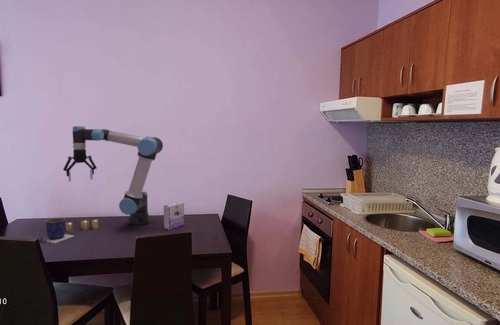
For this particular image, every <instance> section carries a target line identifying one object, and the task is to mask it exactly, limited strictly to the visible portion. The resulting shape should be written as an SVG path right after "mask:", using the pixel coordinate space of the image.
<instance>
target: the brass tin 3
mask: <svg viewBox="0 0 500 325" xmlns="http://www.w3.org/2000/svg"><path fill="white" fill-rule="evenodd" d="M98 228H99V219H98V218H95V219H94V218H93V219H92V220H91V229H92V230H93V229H95V230H99V229H98Z"/></svg>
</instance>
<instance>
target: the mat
mask: <svg viewBox="0 0 500 325" xmlns="http://www.w3.org/2000/svg"><path fill="white" fill-rule="evenodd" d="M74 237H75V235H73V234H68V233H65V235H64V236H63V237H62V238H59V239H48V240H47V242H46V243H49V242H51V243H50V244H58V243H60V242H62V241H65V240H69V239H70V238H74Z"/></svg>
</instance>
